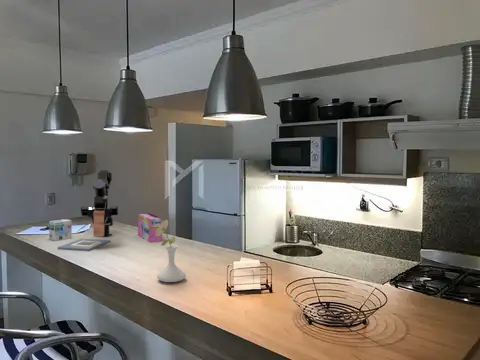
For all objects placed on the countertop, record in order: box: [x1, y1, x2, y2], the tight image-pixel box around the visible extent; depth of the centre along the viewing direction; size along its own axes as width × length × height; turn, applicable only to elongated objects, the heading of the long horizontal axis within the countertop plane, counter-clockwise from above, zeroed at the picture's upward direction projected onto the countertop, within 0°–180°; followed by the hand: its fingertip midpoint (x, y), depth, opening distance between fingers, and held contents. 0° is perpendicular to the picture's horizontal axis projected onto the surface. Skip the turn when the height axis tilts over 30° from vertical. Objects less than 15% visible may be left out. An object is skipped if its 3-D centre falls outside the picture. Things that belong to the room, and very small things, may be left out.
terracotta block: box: [93, 210, 105, 237], centre depth 212 cm, size 5×5×13 cm
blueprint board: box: [57, 238, 111, 252], centre depth 218 cm, size 22×18×2 cm
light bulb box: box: [48, 218, 73, 241], centre depth 234 cm, size 11×7×11 cm, turn 143°
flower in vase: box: [155, 219, 187, 283], centre depth 159 cm, size 13×11×25 cm
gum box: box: [137, 212, 163, 243], centre depth 240 cm, size 24×8×14 cm, turn 31°
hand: (98, 223), depth 211 cm, fingers closed on terracotta block, 5 cm apart
